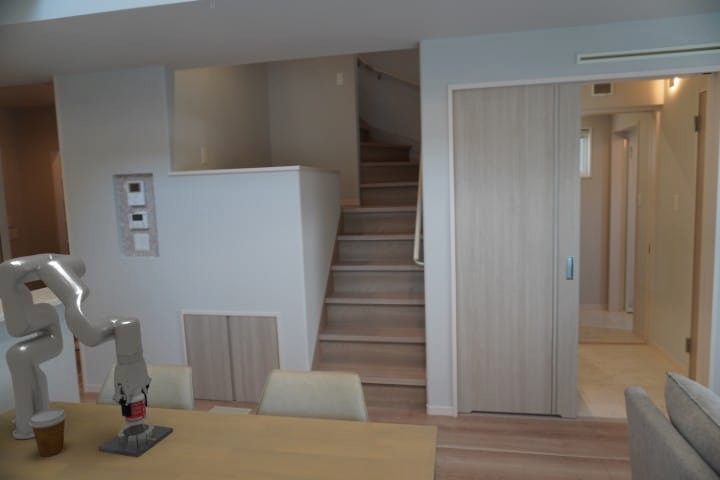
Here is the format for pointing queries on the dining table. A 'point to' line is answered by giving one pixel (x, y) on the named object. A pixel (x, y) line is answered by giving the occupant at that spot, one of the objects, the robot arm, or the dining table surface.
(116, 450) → the socket plate
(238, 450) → the dining table surface
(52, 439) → the disposable coffee cup
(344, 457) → the dining table surface
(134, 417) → the pill bottle
